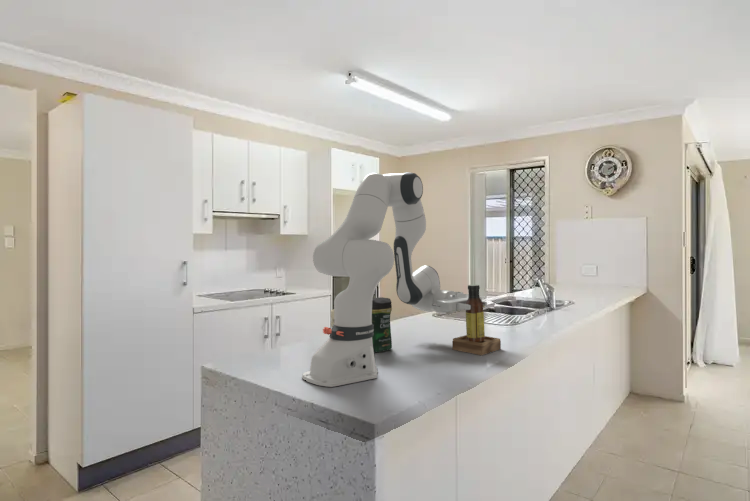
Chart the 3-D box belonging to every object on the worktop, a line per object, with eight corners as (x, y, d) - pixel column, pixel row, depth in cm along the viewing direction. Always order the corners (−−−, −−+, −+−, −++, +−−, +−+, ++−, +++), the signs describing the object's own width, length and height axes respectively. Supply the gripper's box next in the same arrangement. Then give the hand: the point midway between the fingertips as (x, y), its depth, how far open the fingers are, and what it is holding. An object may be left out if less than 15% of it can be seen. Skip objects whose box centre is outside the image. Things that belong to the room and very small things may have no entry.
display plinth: (481, 355, 154) (481, 344, 154) (452, 349, 163) (452, 338, 163) (500, 349, 162) (500, 338, 162) (471, 343, 171) (471, 333, 171)
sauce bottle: (483, 339, 165) (483, 284, 164) (485, 343, 158) (485, 285, 158) (464, 339, 165) (464, 283, 165) (466, 343, 159) (466, 285, 159)
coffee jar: (375, 354, 156) (375, 300, 156) (360, 350, 162) (360, 297, 162) (396, 349, 163) (395, 297, 162) (381, 346, 169) (380, 295, 168)
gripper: (428, 296, 164) (461, 299, 154) (462, 291, 178) (494, 294, 168) (428, 313, 164) (461, 318, 154) (462, 307, 178) (494, 311, 169)
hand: (478, 305), depth 161 cm, fingers open, 8 cm apart
